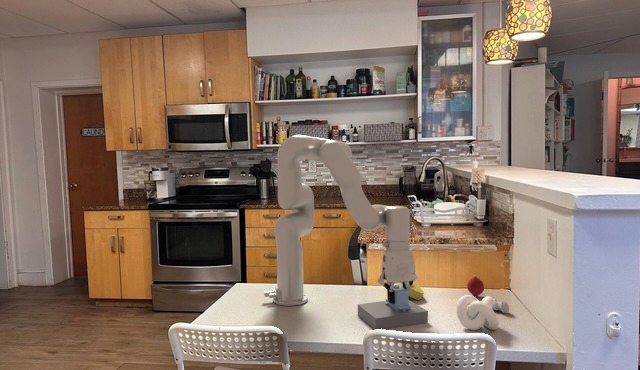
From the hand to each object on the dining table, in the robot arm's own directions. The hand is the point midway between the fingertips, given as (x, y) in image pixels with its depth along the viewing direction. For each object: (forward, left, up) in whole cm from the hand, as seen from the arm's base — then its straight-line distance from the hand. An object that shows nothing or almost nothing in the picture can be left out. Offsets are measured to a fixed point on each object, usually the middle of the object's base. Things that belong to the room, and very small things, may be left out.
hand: (397, 301), depth 128 cm
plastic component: (+15, +22, -6) cm, 27 cm away
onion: (+38, +9, -6) cm, 39 cm away
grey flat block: (-2, 0, -5) cm, 6 cm away
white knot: (+20, -14, -6) cm, 25 cm away
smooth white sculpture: (+34, -5, -6) cm, 35 cm away
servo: (0, 0, -4) cm, 4 cm away
